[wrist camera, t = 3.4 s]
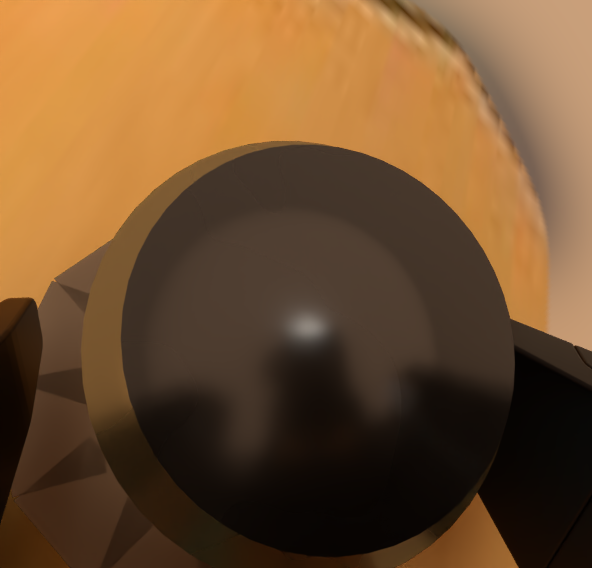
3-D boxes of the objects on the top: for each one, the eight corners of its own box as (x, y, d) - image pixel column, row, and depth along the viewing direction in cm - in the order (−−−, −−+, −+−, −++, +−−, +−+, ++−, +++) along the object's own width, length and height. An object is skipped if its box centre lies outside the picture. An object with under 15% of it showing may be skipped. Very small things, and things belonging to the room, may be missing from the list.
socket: (387, 512, 16) (436, 532, 13) (59, 624, 13) (28, 684, 10) (317, 233, 18) (346, 199, 15) (22, 271, 15) (-11, 237, 12)
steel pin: (286, 445, 15) (609, 511, 4) (154, 481, 14) (113, 716, 3) (259, 321, 16) (466, 105, 5) (133, 344, 15) (39, 122, 4)
